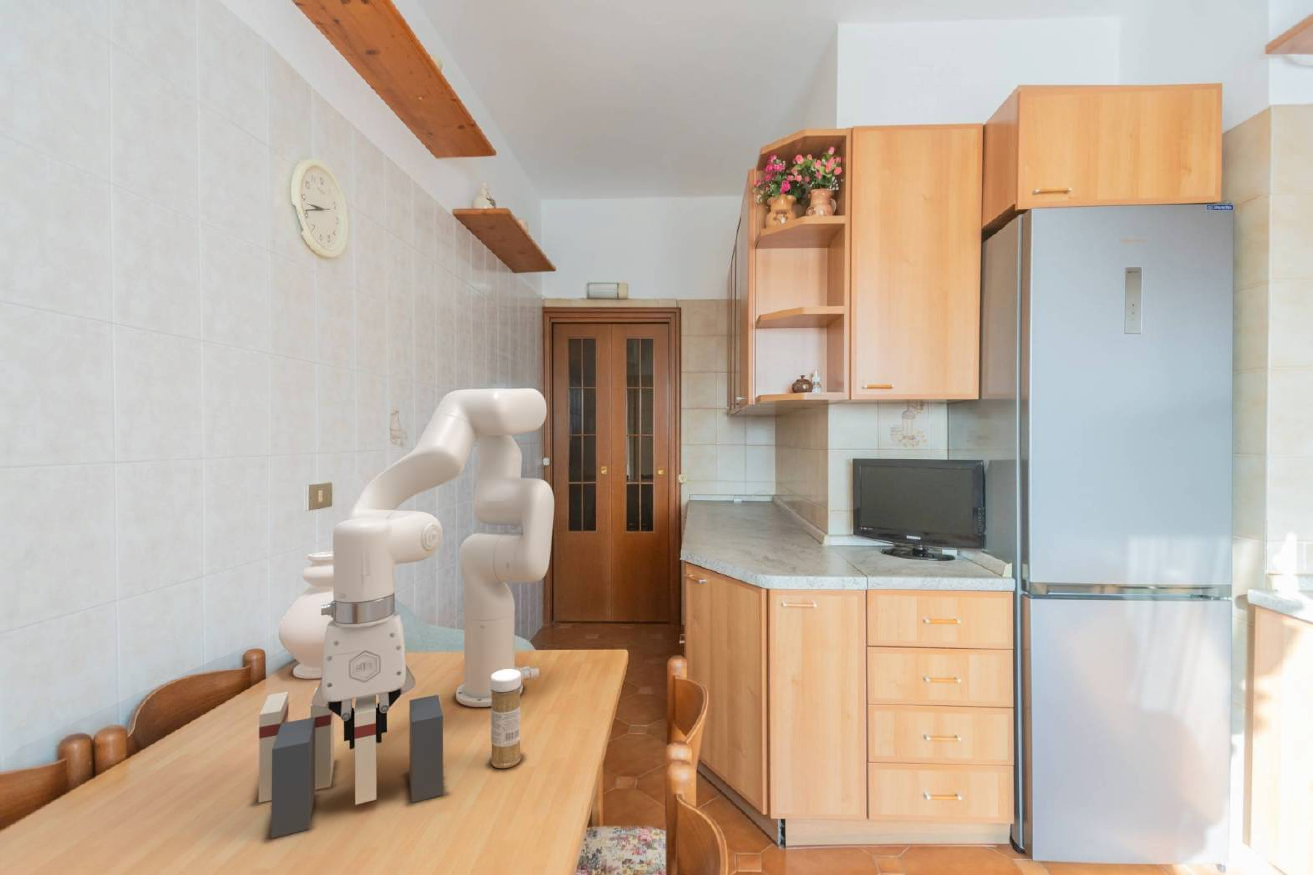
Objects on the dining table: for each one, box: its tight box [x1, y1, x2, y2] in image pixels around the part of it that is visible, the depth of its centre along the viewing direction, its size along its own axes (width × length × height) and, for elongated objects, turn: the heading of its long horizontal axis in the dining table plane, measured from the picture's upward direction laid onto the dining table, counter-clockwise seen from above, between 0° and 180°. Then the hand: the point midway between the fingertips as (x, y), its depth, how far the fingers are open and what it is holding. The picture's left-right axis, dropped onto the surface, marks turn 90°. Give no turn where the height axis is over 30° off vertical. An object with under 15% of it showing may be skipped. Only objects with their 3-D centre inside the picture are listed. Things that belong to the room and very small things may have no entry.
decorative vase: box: [278, 550, 334, 680], centre depth 126 cm, size 18×18×25 cm
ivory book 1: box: [258, 691, 289, 804], centre depth 81 cm, size 2×7×12 cm, turn 26°
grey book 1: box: [270, 717, 316, 840], centre depth 75 cm, size 4×8×11 cm, turn 26°
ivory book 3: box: [354, 695, 378, 806], centre depth 79 cm, size 2×7×12 cm, turn 26°
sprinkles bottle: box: [490, 669, 522, 769], centre depth 87 cm, size 5×5×14 cm
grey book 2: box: [408, 694, 444, 804], centre depth 82 cm, size 4×8×11 cm, turn 26°
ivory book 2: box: [310, 686, 335, 791], centre depth 84 cm, size 2×7×12 cm, turn 26°
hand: (366, 740), depth 79 cm, fingers closed on ivory book 3, 2 cm apart
